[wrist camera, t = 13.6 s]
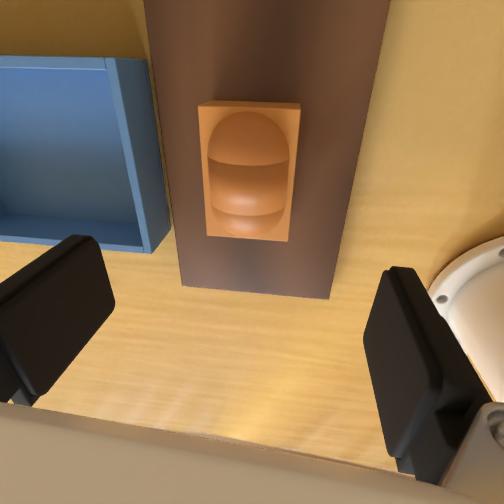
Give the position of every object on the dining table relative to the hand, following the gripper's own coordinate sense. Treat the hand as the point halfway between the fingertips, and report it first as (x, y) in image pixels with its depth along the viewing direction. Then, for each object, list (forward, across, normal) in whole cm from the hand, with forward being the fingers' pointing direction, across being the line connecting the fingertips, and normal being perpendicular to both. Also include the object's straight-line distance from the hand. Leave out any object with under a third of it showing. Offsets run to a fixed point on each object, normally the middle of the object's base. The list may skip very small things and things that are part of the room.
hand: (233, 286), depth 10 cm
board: (+14, +1, -1) cm, 14 cm away
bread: (+12, +1, -1) cm, 12 cm away
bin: (+13, +16, -1) cm, 21 cm away
